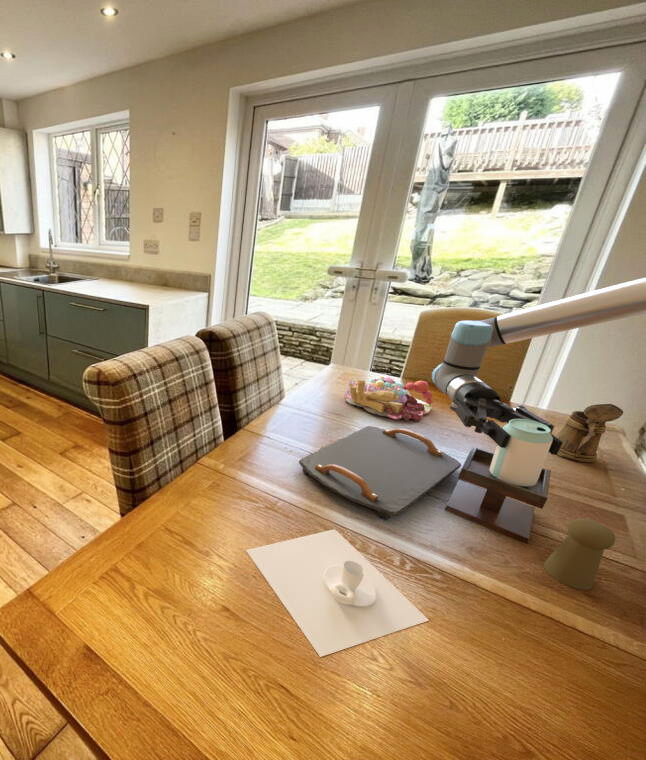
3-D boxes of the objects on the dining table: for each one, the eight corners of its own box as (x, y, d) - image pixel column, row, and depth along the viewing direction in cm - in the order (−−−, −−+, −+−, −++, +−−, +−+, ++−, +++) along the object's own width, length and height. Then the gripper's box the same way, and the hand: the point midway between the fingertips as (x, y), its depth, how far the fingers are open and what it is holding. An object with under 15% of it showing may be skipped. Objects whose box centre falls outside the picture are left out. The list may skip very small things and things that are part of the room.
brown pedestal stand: (532, 511, 83) (552, 470, 79) (526, 543, 75) (549, 499, 71) (456, 483, 92) (471, 445, 88) (444, 509, 84) (460, 468, 80)
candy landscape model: (414, 429, 116) (423, 401, 112) (333, 403, 132) (339, 378, 128) (436, 405, 132) (444, 379, 128) (361, 384, 148) (367, 361, 144)
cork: (542, 574, 68) (569, 524, 64) (544, 555, 72) (569, 507, 68) (593, 596, 64) (625, 545, 60) (591, 575, 68) (621, 525, 64)
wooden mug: (553, 463, 100) (583, 399, 94) (544, 441, 111) (571, 382, 104) (603, 475, 96) (640, 409, 89) (589, 451, 106) (621, 390, 99)
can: (515, 467, 82) (532, 415, 77) (546, 488, 75) (567, 434, 71) (479, 468, 82) (495, 417, 78) (507, 489, 76) (526, 435, 71)
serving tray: (385, 532, 77) (393, 507, 75) (286, 473, 95) (290, 451, 93) (465, 469, 97) (473, 448, 95) (371, 430, 115) (376, 411, 113)
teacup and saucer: (343, 615, 61) (348, 596, 59) (308, 574, 68) (313, 556, 66) (387, 601, 63) (394, 582, 62) (350, 562, 70) (355, 545, 69)
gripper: (517, 416, 93) (589, 471, 72) (420, 405, 98) (461, 453, 78) (530, 387, 90) (608, 435, 70) (429, 377, 95) (474, 419, 75)
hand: (531, 444), depth 74 cm, fingers closed on can, 7 cm apart
